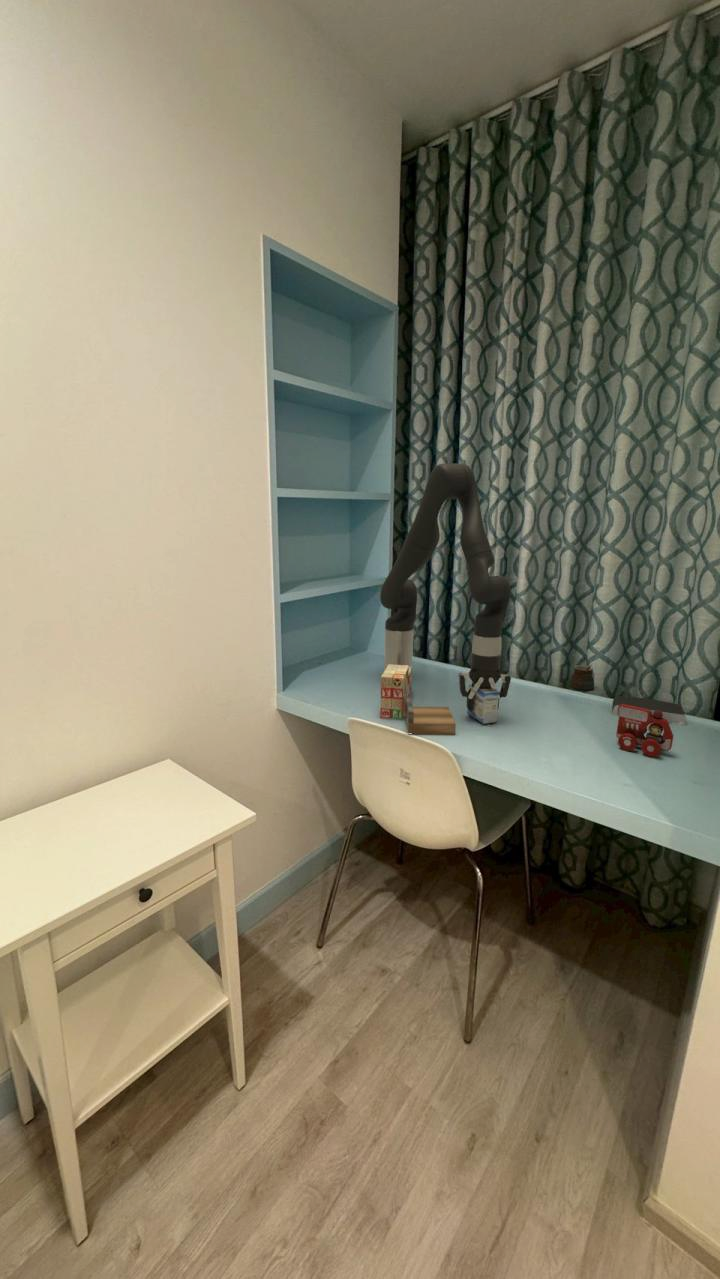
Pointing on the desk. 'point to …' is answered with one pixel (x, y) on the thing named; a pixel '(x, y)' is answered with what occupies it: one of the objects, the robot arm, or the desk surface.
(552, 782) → the desk surface
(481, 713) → the medicine box
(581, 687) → the mate gourd
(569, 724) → the desk surface
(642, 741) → the toy fire truck
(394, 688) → the stack of blocks
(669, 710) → the grey flat block
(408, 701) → the dock
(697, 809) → the desk surface
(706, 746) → the desk surface
